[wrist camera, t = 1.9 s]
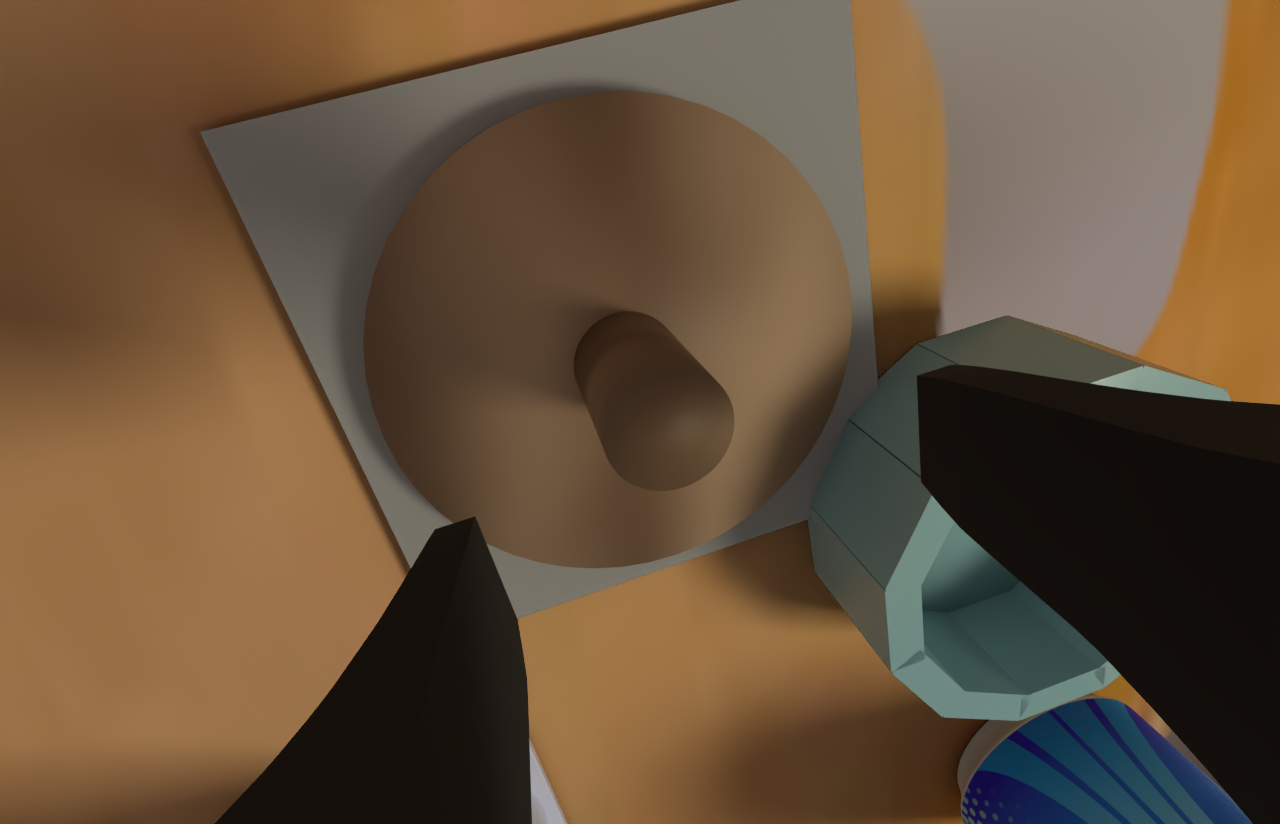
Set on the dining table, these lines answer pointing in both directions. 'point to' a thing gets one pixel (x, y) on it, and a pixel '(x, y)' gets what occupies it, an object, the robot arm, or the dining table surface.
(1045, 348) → the bowl
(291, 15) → the dining table surface
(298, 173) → the mat
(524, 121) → the lid
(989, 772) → the beer can
